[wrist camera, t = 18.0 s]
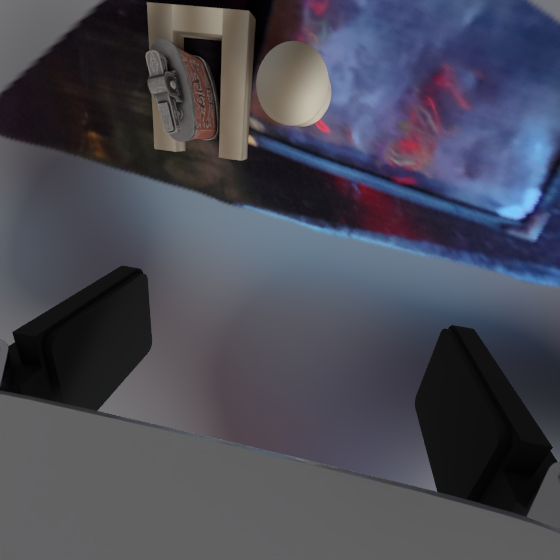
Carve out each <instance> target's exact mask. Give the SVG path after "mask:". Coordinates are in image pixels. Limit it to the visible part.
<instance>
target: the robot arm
mask: <svg viewBox="0 0 560 560" xmlns="http://www.w3.org/2000/svg"><path fill="white" fill-rule="evenodd" d="M13 336H14V339H15V343H13V344H12V345H10V346H8V344H7V343H6V342H5V341H4V340H1V339H0V560H560V462H557V460H556V459H555V458H554V456H553V454H552V453H551V451H550V450H551V449H552V448H553V447H552V446H551V444H550V443H549V441H548V440H547V438H546V437H545V435H544V434H543V432H542V431H541V429H540V428H539V426H538V425H537V423H536V422H535V420H534V419H533V417H532V416H531V414H530V413H529V411H528V410H527V408H526V407H525V405H524V404H523V402H522V401H521V399H520V397H519V396H518V394H517V393H516V392H515V390H514V388H513V387H512V386H511V384H510V383H509V381H508V379H507V378H506V376H505V375H504V373H503V372H502V370H501V369H500V368H499V366H498V364H497V363H496V361H495V360H494V358H493V357H492V355H491V354H490V352H489V351H488V349H487V348H486V346H485V345H484V343H483V342H482V340H481V339H480V337H479V336H478V334H477V333H476V332H475V330H474V329H471V328H465V327H460V326H454V325H452V326H450V327H449V328H448V329H443V330H442V331H441V333H440V336H439V338H438V341H437V344H436V346H435V349H434V351H433V354H432V356H431V359H430V362H429V364H428V367H427V369H426V372H425V375H424V377H423V380H422V382H421V385H420V388H419V390H418V393H417V395H416V399H415V408H416V412H417V416H418V420H419V424H420V427H421V431H422V435H423V439H424V443H425V447H426V450H427V454H428V458H429V462H430V465H431V469H432V473H433V477H434V481H435V485H436V488H437V492H435V491H431V490H427V489H423V488H419V487H415V486H412V485H408V484H403V483H400V482H396V481H391V480H387V479H383V478H379V477H375V476H371V475H367V474H363V473H358V472H354V471H350V470H346V469H342V468H338V467H333V466H329V465H325V464H321V463H317V462H313V461H308V460H305V459H300V458H296V457H292V456H288V455H284V454H279V453H275V452H271V451H267V450H263V449H258V448H254V447H250V446H246V445H241V444H237V443H233V442H229V441H224V440H220V439H216V438H212V437H207V436H203V435H198V434H194V433H190V432H186V431H181V430H177V429H173V428H169V427H165V426H160V425H156V424H151V423H147V422H142V421H138V420H134V419H130V418H125V417H121V416H116V415H112V414H108V413H103V412H99V411H97V410H98V409H99V408H100V407H101V406H102V405H103V404H104V402H105V401H106V400H107V399H108V398H109V397H110V395H111V394H112V393H113V392H114V391H115V390H116V389H117V388H118V386H119V385H120V384H121V383H122V382H123V381H124V379H125V378H126V377H127V376H128V375H129V374H130V373H131V372H132V370H133V369H134V368H135V367H136V366H137V365H138V364H139V362H140V361H141V360H142V359H143V358H144V357H145V356H146V355H147V353H148V352H149V350H150V348H151V345H152V334H151V320H150V307H149V293H148V279H147V276H146V275H145V274H143V272H142V270H141V269H138V268H133V267H128V266H121V267H119V268H117V269H115V270H114V271H112V272H111V273H109V274H107V275H106V276H104V277H102V278H101V279H99V280H97V281H96V282H94V283H93V284H91V285H89V286H88V287H86V288H84V289H83V290H81V291H79V292H78V293H76V294H75V295H73V296H71V297H69V298H68V299H66V300H65V301H63V302H61V303H60V304H58V305H56V306H55V307H53V308H51V309H50V310H48V311H47V312H45V313H43V314H42V315H40V316H38V317H37V318H35V319H33V320H32V321H30V322H28V323H27V324H25V325H23V326H22V327H20V328H19V329H17V330H15V331H14V332H13Z"/></svg>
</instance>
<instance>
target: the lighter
mask: <svg viewBox="0 0 560 560" xmlns="http://www.w3.org/2000/svg"><path fill="white" fill-rule="evenodd" d="M146 61H147V65H148V69H149V73H150V75H149V78H148V87H149V90H150V92H151V94H152V95H153V96H154V98H155V99H156V101H157V105H158V109H159V113H160V117H161V121H162V124H163V128H164V131H165V132H166V133H167V134H169V135H170V136H171V137H172V138H173V139H174V140H176V141H179V142H186V141H189V140H192V139H204V140H213V139H215V138H217V137H218V136H219V134H220V108H219V100H218V95H217V91H216V87H215V83H214V79H213V77H212V74H211V71H210V68H209V65H208V63H207V62H206V61H205V60H204V59H203V58H201V57H198V56H193V55H191V54H189V53H187V52H185V51H183V50H181V49H179V48H178V47H177V46H176V45H175V44H174V43H172V42H170V41H168V40H165V39H159V40H157V41H155V42H154V43H153V44H152V46H151V48H150V51H149V52H147V53H146Z"/></svg>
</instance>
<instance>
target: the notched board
mask: <svg viewBox="0 0 560 560" xmlns="http://www.w3.org/2000/svg"><path fill="white" fill-rule="evenodd" d="M147 13H148V32H149V51H150V48H151V46H152V44H153V43H154V42H155V41H157V40H159V39H165V40H168V41H170V42H172V43H174V44H175V45H176V46H177V47H178V48H179V49H181V50H183V51H184V37H189V38H199V39H210V40H220V41H222V61H221V98H220V135H219V158H226V159H234V160H244V159H247V150H248V134H249V118H250V102H251V86H252V70H253V54H254V38H255V22H256V19H255V18H254V16H253V15H252V14H251V12H250V11H246V10H235V9H223V8H211V7H199V6H187V5H175V4H163V3H151V2H147ZM152 109H153V128H154V147H155V149H160V150H167V151H175V152H177V151H185V142H179V141H176V140H174V139H173V138H172V137H171V136H170V135H169V134H167V133H166V132H165V131H164V128H163V124H162V121H161V117H160V113H159V109H158V105H157V101H156V99H155V98H154V96H153V95H152Z"/></svg>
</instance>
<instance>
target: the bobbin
mask: <svg viewBox="0 0 560 560" xmlns="http://www.w3.org/2000/svg"><path fill="white" fill-rule="evenodd" d="M256 88H257V95H258V99H259V102H260V104H261V106H262V108H263V109H264V111H265V112H266V113H267V115H268V116H269V117H271V118H272V119H273V120H275V121H276V122H278V123H281V124H284V125H294V126H301V127H303V126H309V125H311V124H314V123H315V122H317V121H318V120H320V119H321V118H322V117H323V115H324V114H325V112H326V111H327V109H328V107H329V104H330V100H331V84H330V80H329V77H328V72H327V68H326V65H325V62H324V60H323V59H322V57H321V55H320V54H319V53H318V52H317V51H316V50H315V49H314V48H313V47H311V46H310V45H308V44H306V43H303V42H299V41H288V42H284V43H281V44H279V45H277V46H276V47H274V48H273V49H272V50H271V51H269V53H268V54H267V55H266V56H265V58H264V59H263V61H262V63H261V65H260V67H259V70H258V74H257V81H256Z"/></svg>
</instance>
